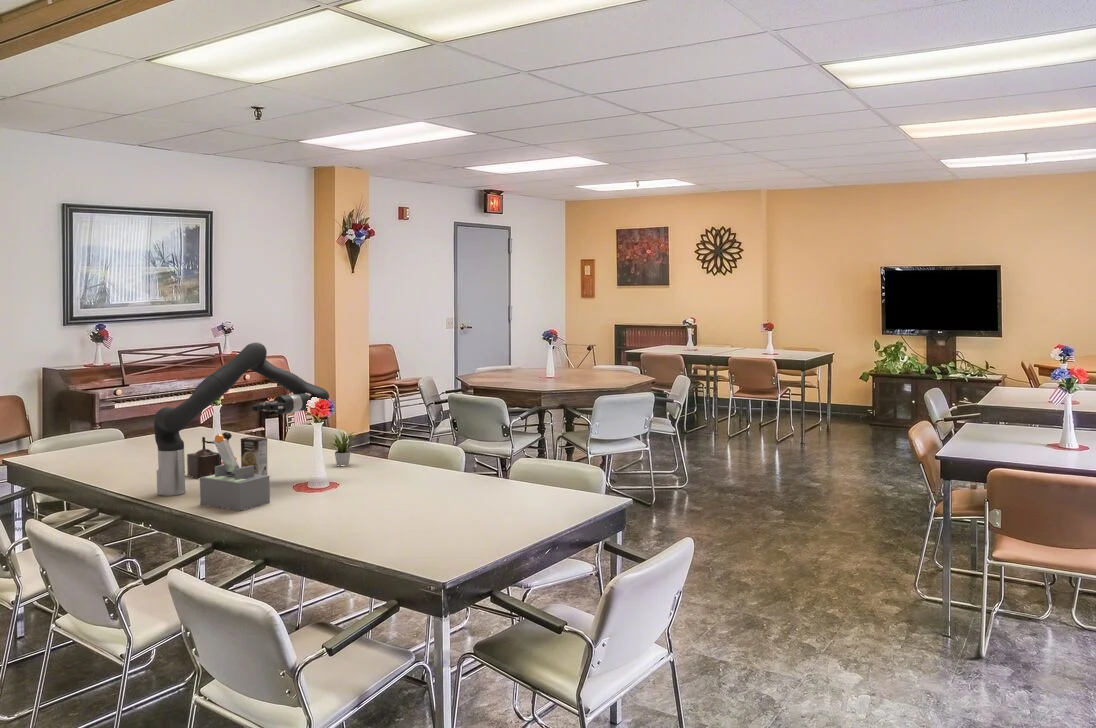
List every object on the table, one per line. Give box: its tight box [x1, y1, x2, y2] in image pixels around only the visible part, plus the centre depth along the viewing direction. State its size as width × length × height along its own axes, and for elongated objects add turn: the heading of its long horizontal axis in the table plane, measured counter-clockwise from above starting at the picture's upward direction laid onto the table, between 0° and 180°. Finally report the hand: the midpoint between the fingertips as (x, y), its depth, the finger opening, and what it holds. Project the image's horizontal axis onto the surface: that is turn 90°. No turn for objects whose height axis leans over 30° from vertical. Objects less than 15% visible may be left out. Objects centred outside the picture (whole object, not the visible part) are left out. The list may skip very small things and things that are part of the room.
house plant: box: [329, 431, 358, 467], centre depth 367 cm, size 14×14×16 cm
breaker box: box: [199, 464, 271, 511], centre depth 297 cm, size 14×20×14 cm
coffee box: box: [240, 436, 269, 476], centre depth 345 cm, size 9×6×16 cm
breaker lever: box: [212, 433, 240, 476], centre depth 293 cm, size 3×6×18 cm, turn 63°
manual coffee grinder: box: [186, 431, 232, 479], centre depth 346 cm, size 16×11×18 cm
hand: (253, 408), depth 312 cm, fingers closed
